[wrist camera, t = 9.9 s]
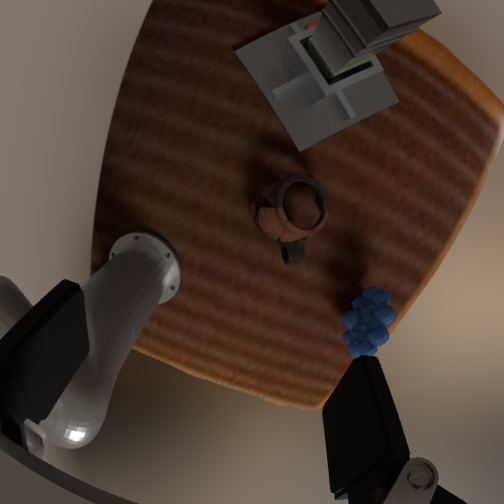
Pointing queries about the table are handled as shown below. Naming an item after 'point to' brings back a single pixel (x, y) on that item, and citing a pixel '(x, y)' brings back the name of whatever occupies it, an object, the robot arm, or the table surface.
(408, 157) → the table surface
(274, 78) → the stand base
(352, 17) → the column
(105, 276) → the robot arm
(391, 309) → the blue lumpy cluster
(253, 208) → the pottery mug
